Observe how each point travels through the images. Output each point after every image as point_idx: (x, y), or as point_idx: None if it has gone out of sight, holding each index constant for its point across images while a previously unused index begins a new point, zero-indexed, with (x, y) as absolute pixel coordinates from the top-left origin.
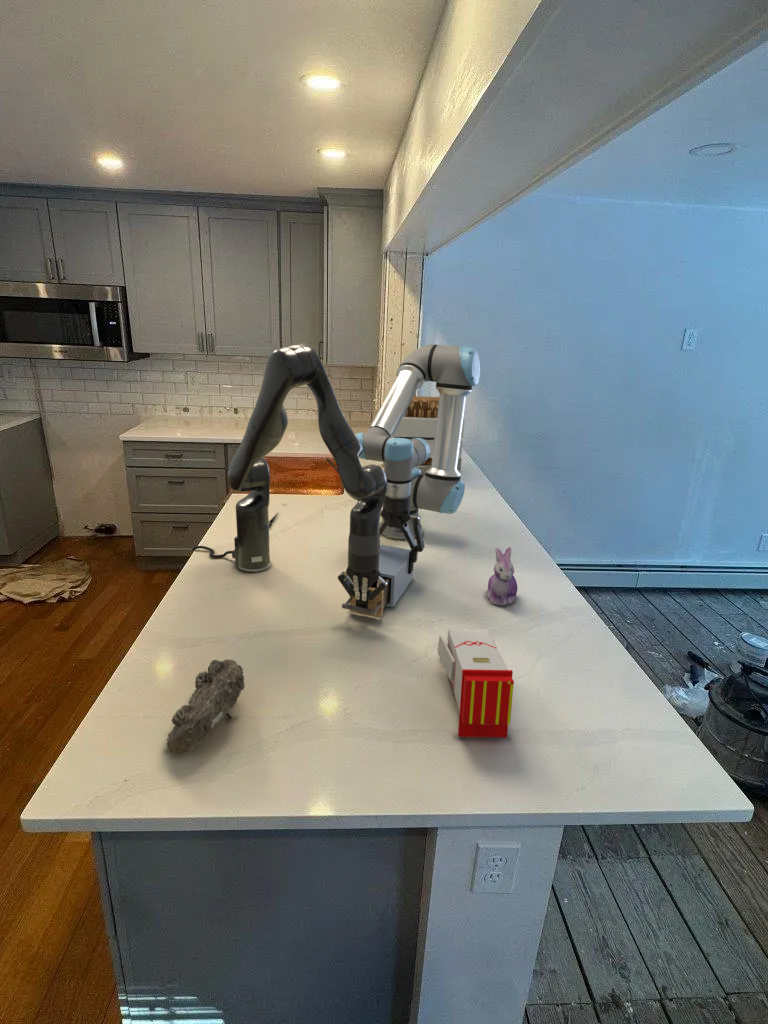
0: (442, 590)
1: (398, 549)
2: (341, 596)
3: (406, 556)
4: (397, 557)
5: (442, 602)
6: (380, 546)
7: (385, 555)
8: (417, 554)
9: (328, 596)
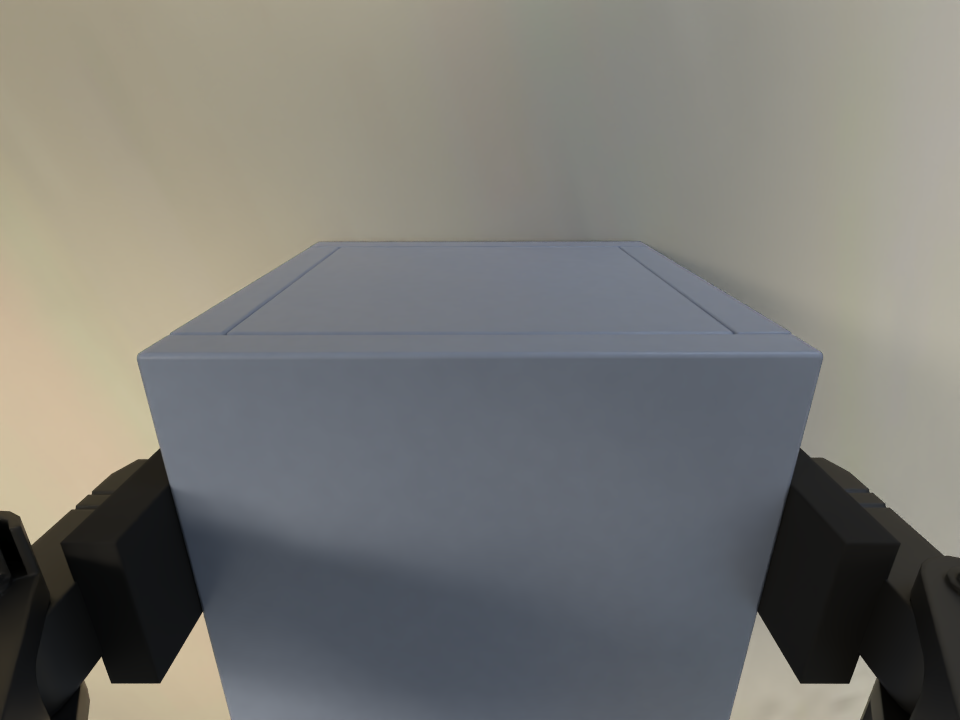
0: (933, 329)
1: (522, 429)
2: None
3: (716, 610)
4: (589, 678)
5: (919, 503)
6: (161, 436)
7: (404, 684)
8: (912, 536)
9: (178, 678)
